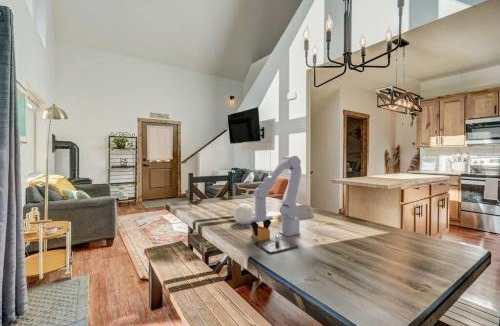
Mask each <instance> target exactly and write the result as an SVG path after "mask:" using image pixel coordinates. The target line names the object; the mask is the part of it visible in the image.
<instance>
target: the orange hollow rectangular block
mask: <svg viewBox="0 0 500 326" xmlns="http://www.w3.org/2000/svg"><path fill="white" fill-rule="evenodd" d="M251 236H252V237H254V238H255V239H257V240H258V241H261V240H266V239H271V229H270V228H268V229H267V228H265V227H264V225H260V224H258V235H257V236H255V235H254V231H253V228H252V227H251Z"/></svg>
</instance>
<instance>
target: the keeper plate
mask: <svg viewBox="0 0 500 326" xmlns="http://www.w3.org/2000/svg"><path fill="white" fill-rule="evenodd" d="M253 245H255V246H257V247H258V248H260V249H261V250H263V251H264V252H265V253H267V254H269V255H272V254H273V255H274V254H278V253H281V252H286V251H290V250H293V249H294V250H295V249H299V245H298V244H296V243H294V242H292V241H290V240H288V239H286V238H283V237H282V236H279V235H275V236H274V237H271V238H270V239H266V240H261V241H260V240H257V241H253Z"/></svg>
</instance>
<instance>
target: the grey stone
mask: <svg viewBox="0 0 500 326" xmlns="http://www.w3.org/2000/svg"><path fill="white" fill-rule="evenodd" d="M296 205H297V216H296V217H297V218H298V219H299V220H304V219H311V218H315V215H314V214H313V212H312V208H311V206H310V205H308V204H296Z"/></svg>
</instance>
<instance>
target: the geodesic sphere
mask: <svg viewBox="0 0 500 326" xmlns="http://www.w3.org/2000/svg"><path fill="white" fill-rule="evenodd" d="M232 215H233V219H234V221H235V222H236V223H237V224H240V225H243V226H244V225H248V224H249V223H248V219H251V218H254V217H255V216H254V215H255V213H254V208H253V207H252V206H251V205H250V204H248V203H245V202H242V203H237V204H235V207H234V210H233V214H232Z"/></svg>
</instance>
